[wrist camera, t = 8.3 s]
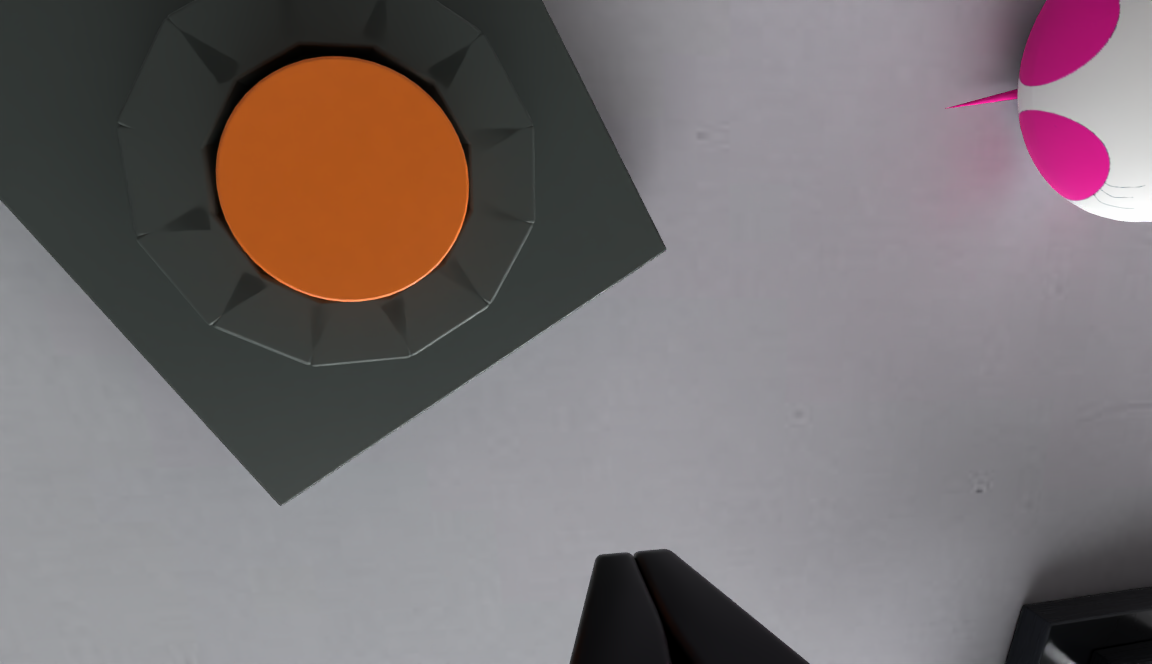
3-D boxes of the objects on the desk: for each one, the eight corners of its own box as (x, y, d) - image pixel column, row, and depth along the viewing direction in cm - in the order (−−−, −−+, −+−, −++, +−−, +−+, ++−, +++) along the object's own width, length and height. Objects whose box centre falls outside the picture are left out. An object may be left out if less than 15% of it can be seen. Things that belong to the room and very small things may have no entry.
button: (319, 318, 13) (318, 346, 11) (180, 137, 11) (156, 138, 10) (489, 210, 13) (511, 223, 12) (376, 23, 12) (383, 7, 10)
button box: (286, 462, 17) (274, 556, 13) (-62, 66, 13) (-216, 43, 9) (630, 236, 18) (707, 264, 14) (409, -189, 14) (437, -297, 11)
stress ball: (917, -22, 22) (962, -57, 16) (1232, -88, 20) (1423, -157, 14) (923, 216, 25) (966, 263, 19) (1208, 184, 22) (1363, 226, 16)
